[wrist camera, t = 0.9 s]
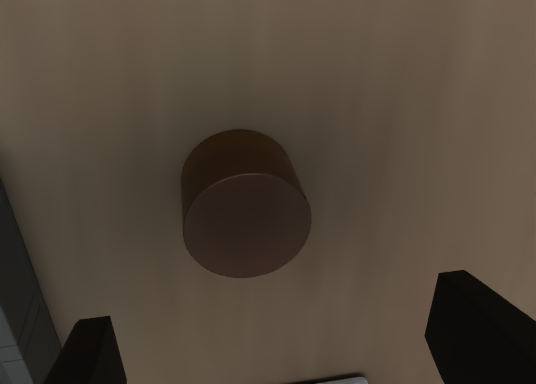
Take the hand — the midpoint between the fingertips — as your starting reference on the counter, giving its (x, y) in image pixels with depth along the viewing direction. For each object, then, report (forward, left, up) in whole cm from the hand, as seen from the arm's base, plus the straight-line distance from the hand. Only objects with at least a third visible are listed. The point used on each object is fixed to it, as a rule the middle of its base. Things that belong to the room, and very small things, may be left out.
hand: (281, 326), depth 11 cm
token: (-1, 0, -8) cm, 8 cm away
